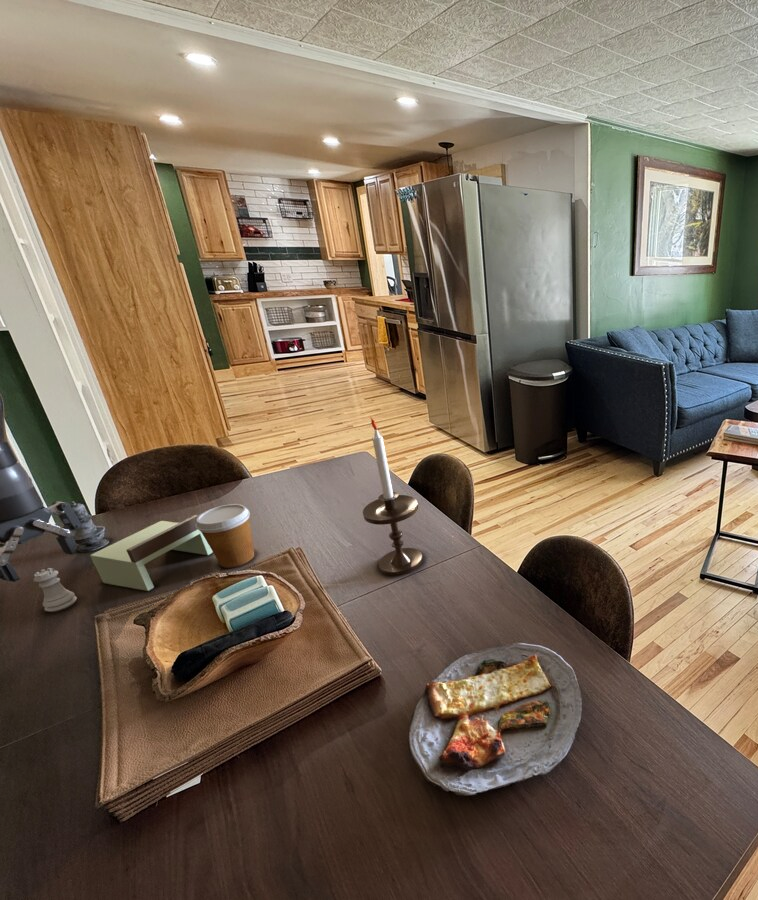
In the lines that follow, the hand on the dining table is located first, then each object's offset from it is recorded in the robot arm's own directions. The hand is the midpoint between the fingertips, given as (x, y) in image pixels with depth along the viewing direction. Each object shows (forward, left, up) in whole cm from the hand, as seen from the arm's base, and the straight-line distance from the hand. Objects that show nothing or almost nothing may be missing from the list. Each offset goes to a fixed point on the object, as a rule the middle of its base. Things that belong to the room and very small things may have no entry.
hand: (43, 566), depth 90 cm
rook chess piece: (0, 0, -9) cm, 9 cm away
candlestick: (+57, +27, -9) cm, 63 cm away
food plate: (+94, -4, -9) cm, 94 cm away
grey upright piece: (-18, +17, -9) cm, 26 cm away
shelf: (+6, +14, -9) cm, 18 cm away
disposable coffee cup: (+20, +20, -9) cm, 30 cm away
